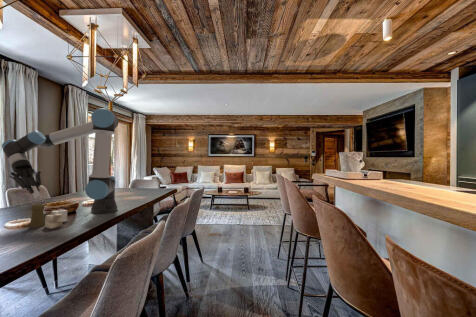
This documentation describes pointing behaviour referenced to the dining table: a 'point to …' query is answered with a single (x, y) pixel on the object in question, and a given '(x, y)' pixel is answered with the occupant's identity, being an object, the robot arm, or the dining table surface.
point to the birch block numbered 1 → (53, 220)
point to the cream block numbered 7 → (64, 212)
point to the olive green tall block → (37, 216)
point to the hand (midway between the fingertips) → (37, 197)
